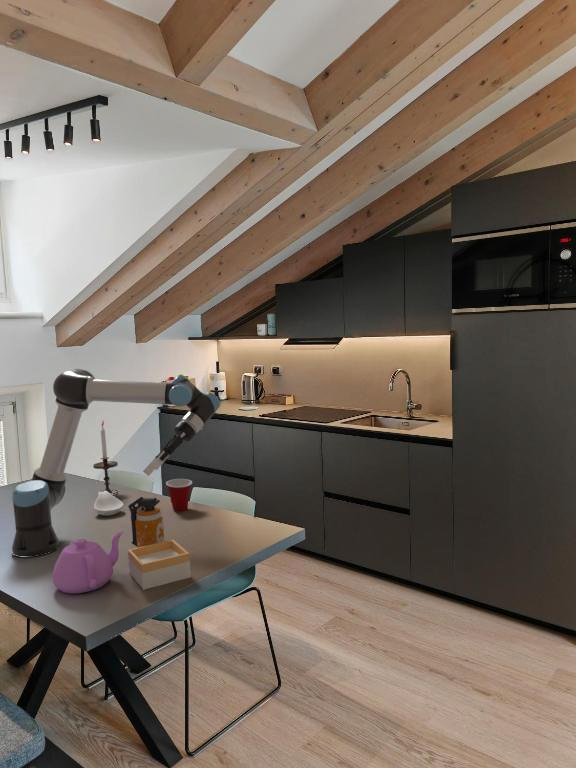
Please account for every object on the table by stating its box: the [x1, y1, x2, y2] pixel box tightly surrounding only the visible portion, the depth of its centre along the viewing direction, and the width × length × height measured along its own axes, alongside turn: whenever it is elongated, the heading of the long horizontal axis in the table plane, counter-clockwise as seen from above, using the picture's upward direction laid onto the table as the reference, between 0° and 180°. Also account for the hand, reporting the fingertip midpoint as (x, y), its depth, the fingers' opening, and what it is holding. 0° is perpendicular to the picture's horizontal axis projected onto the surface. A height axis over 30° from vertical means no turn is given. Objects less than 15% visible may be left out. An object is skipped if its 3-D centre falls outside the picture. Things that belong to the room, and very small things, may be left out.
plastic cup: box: [165, 478, 193, 513], centre depth 251 cm, size 11×11×12 cm
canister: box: [128, 496, 166, 548], centre depth 200 cm, size 9×11×20 cm
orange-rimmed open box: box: [127, 539, 192, 591], centre depth 184 cm, size 15×15×8 cm
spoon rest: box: [93, 490, 124, 517], centre depth 255 cm, size 24×12×7 cm, turn 29°
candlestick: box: [92, 420, 119, 495], centre depth 280 cm, size 11×11×35 cm
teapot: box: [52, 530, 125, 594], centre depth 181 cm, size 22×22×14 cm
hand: (149, 470), depth 210 cm, fingers open, 13 cm apart
